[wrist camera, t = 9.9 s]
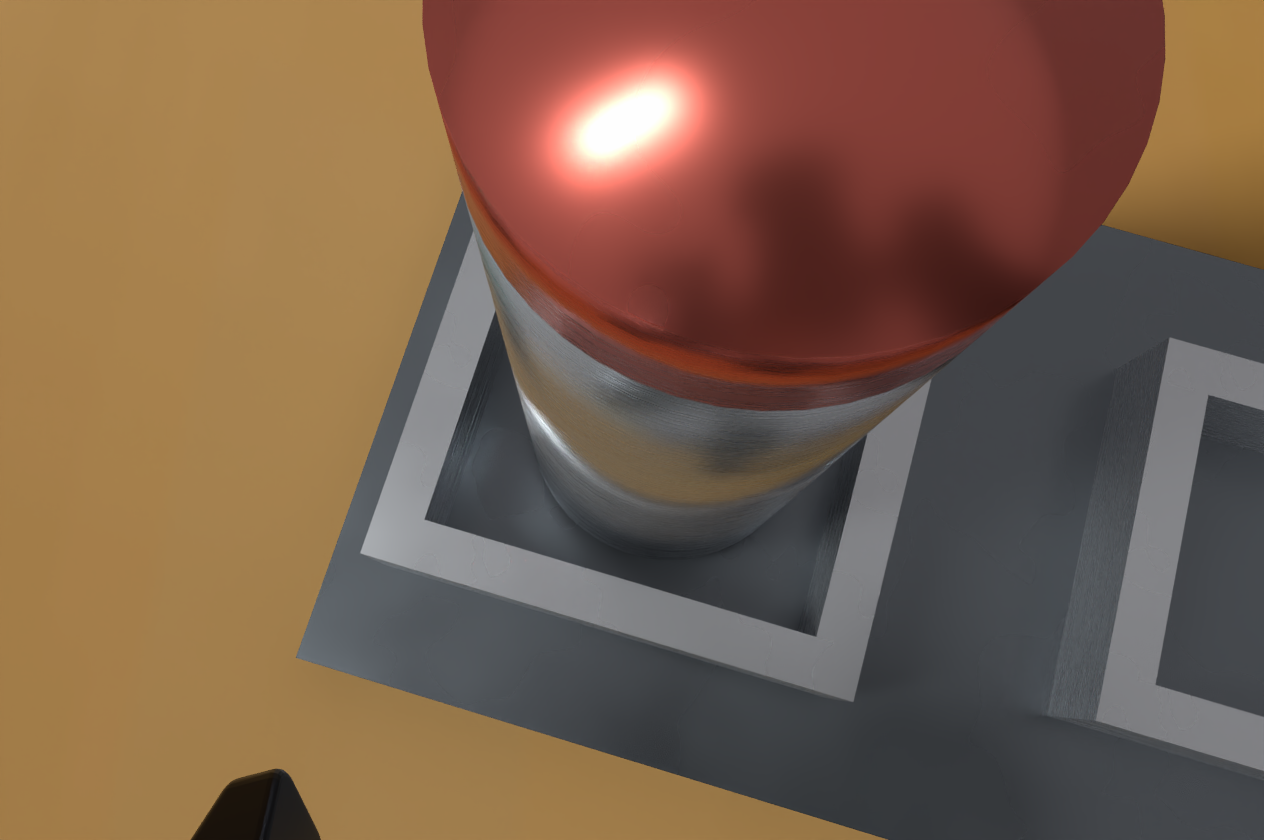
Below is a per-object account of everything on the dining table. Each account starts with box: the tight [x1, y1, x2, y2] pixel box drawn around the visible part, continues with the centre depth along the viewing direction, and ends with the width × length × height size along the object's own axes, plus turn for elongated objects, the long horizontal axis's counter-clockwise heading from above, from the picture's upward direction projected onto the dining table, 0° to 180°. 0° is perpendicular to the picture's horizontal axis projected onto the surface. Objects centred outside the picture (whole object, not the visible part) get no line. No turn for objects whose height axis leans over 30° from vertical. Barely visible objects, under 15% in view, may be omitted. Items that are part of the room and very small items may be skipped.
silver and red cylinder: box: [423, 0, 1165, 560], centre depth 14 cm, size 5×5×13 cm
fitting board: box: [296, 191, 1264, 840], centre depth 19 cm, size 12×22×3 cm, turn 74°
